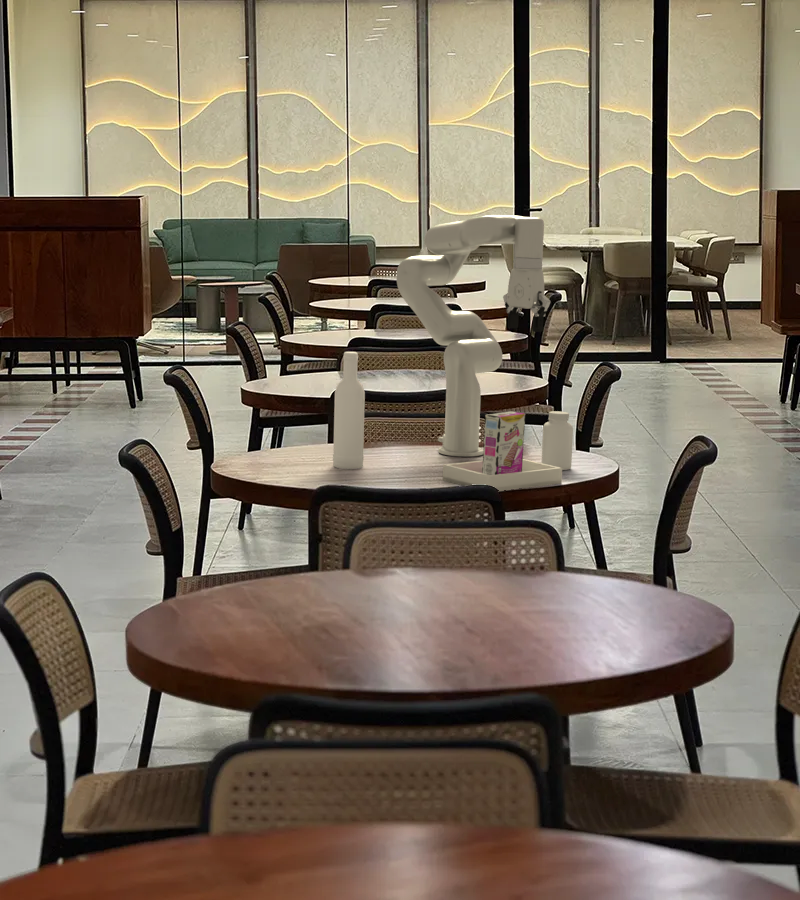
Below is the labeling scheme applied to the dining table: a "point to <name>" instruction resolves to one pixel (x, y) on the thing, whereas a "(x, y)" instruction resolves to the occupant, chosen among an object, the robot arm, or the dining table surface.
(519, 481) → the tray
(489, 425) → the candy bar box
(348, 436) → the bottle
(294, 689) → the dining table surface
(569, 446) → the pill bottle
